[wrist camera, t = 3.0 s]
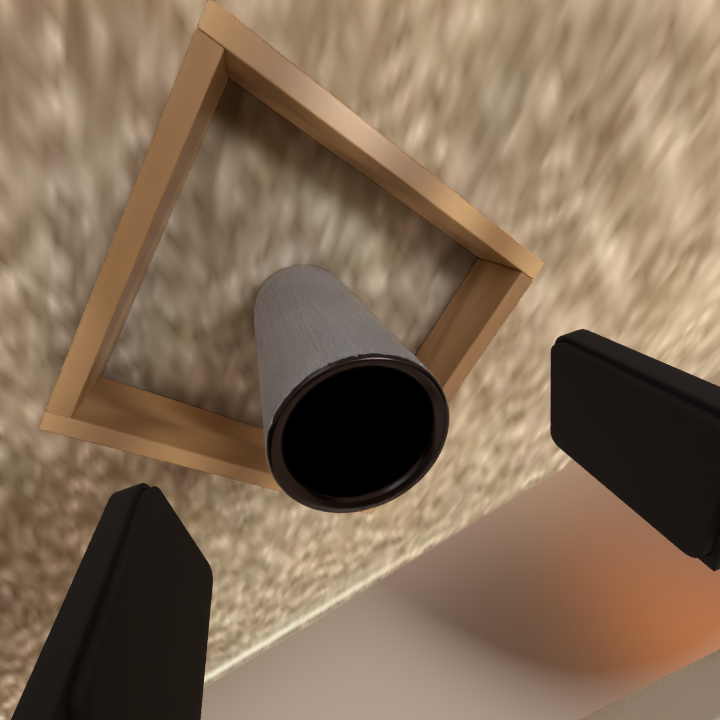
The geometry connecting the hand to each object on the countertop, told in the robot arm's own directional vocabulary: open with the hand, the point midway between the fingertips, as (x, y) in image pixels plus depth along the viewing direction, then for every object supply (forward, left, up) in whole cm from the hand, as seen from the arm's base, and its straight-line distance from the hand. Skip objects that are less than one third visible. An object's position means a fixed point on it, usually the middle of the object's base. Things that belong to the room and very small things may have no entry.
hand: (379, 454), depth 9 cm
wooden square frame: (0, 0, -11) cm, 11 cm away
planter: (0, 0, -11) cm, 11 cm away
